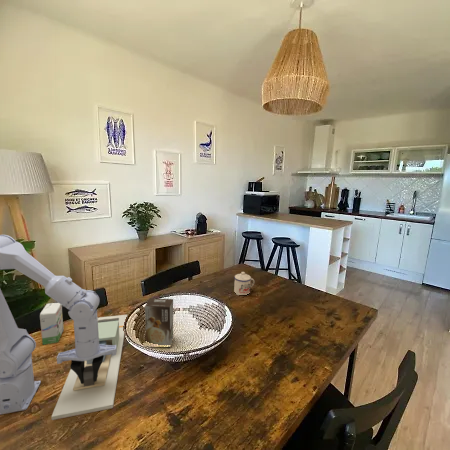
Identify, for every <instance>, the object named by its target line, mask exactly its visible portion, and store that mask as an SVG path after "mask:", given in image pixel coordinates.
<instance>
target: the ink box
mask: <svg viewBox="0 0 450 450" xmlns="http://www.w3.org/2000/svg"><path fill="white" fill-rule="evenodd" d="M39 320H40V329H41V330H40V331H41V332H40V333H41V342H42V345H51V344H56V343H59V341H60V339H61V337H62V334H63V332H64V321H63V320H64V319H63V305H61V304H60V303H58V302H54V303H52V302H51V303H46V304H45V306H44V307H43V309H42V310H41V312H40V313H39Z"/></svg>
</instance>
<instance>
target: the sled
mask: <svg viewBox="0 0 450 450" xmlns="http://www.w3.org/2000/svg"><path fill="white" fill-rule="evenodd" d="M102 341H106V345H112V339H110V340H102ZM99 342H100V341H99ZM110 358H111V354H110V355H106V357H105V361H104V362H102V364H101V366H100V368H99V370H98V377H97V381H95V382H94V381H93V367H92V364H87V361H85V369H84V372H83V378H84V384H81V382H80V379H79V377H78V376H77V379H76V382H75V384H74V387H73V390H79V389H85V388H90V387H96V386H102V385H105V381H106V377H107V372H108V367H109V363H110Z"/></svg>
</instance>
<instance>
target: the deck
mask: <svg viewBox="0 0 450 450" xmlns="http://www.w3.org/2000/svg"><path fill="white" fill-rule="evenodd" d="M126 317H127V318H128V314H121V315H110V316H101V317H97V318H98V323H100V322H109V321H118V320H119V342H118V347H117V353H116V355H114V356H112V354H111V358H110V363H109V367H108V372H107V377H106V381H105V385H102V386H96V387H90V388H85V389H79V390H73V387H74V384H75V382H76V379H77V374H76V373H75V372H74V371H73V370H72V369H71V368H70V370H69V372H68V375H67V377H66V380H65V382H64V384H63V387H62V390H61V392H60V395H59V397H58V400H57V402H56V404H55V407H54V409H53V411H52V414H51V420H52V421H55V420H59V419H64V418H69V417H74V416H80V415H84V414H89V413H94V412H99V411H104V410H110V409H113V408H114V404H115V397H116V390H117V384H118V379H119V373H120V372H119V371H120V367H121V366H120V364H121V359H122V352H123V347H124V339H125V334H124V331H123V326H124V322H125V319H126Z"/></svg>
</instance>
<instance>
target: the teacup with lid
mask: <svg viewBox="0 0 450 450" xmlns="http://www.w3.org/2000/svg"><path fill="white" fill-rule="evenodd" d="M254 284H255V280H254V278H252V276H250V274H248V273H246V272H245V271H241V273H237V274H235V275H234V287H233V288H234V289H233V292H235V293H236V294H235V293H234V294H235V295H237V296H239V295H247V294H249V293H250V294H251V288H253V286H254ZM250 294H249V295H250ZM247 296H248V295H247Z"/></svg>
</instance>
